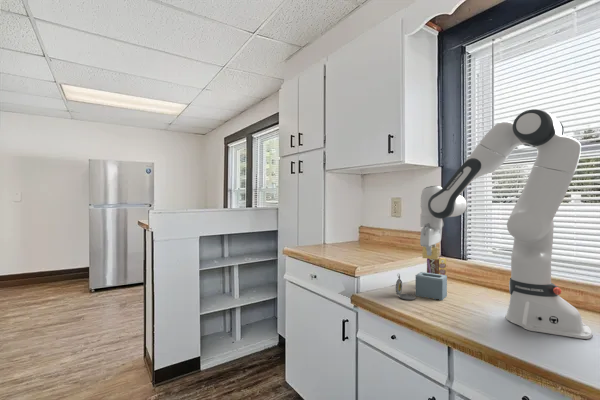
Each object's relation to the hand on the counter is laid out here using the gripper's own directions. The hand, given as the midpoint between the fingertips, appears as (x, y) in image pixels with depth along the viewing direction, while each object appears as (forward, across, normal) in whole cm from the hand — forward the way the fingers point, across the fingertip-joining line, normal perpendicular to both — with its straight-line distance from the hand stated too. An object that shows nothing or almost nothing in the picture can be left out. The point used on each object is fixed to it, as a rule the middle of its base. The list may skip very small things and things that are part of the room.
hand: (430, 254), depth 135 cm
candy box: (+18, +12, +1) cm, 22 cm away
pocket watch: (+18, -10, +8) cm, 22 cm away
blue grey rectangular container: (+18, 0, 0) cm, 18 cm away
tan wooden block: (+2, 0, 0) cm, 2 cm away
